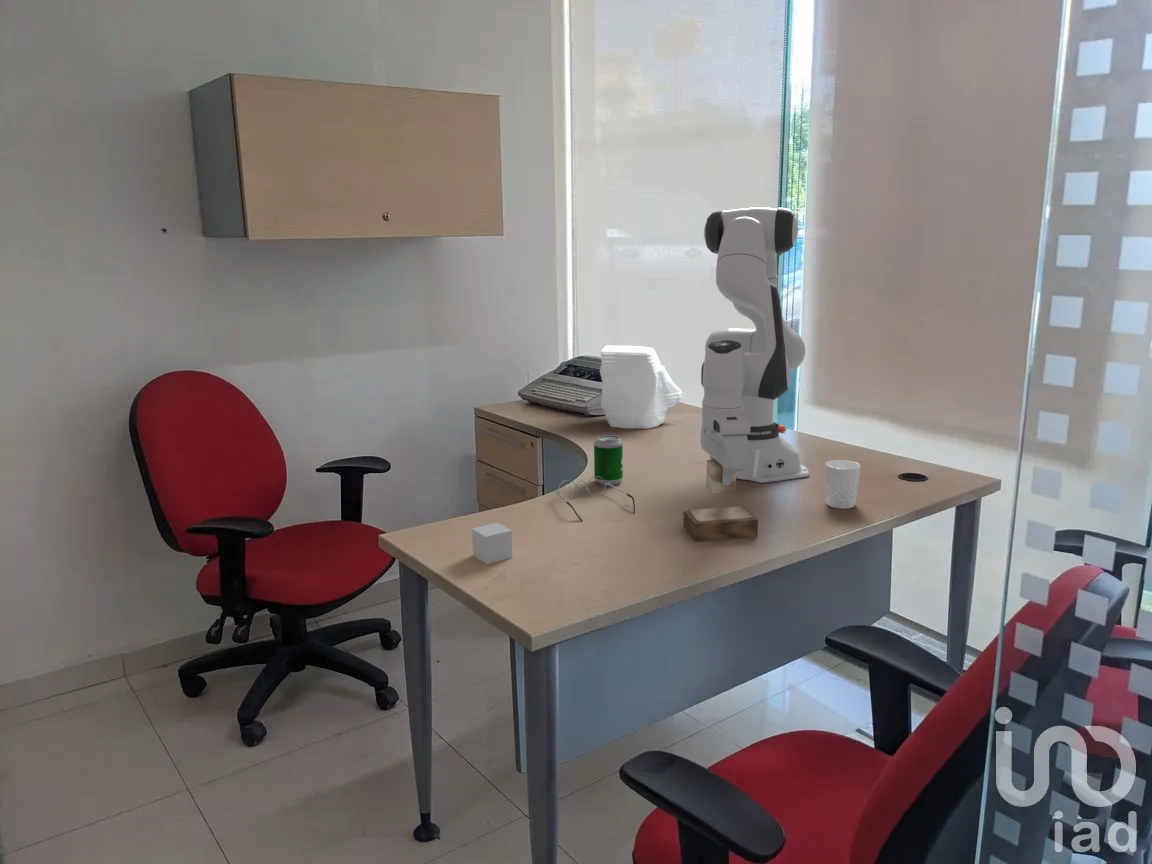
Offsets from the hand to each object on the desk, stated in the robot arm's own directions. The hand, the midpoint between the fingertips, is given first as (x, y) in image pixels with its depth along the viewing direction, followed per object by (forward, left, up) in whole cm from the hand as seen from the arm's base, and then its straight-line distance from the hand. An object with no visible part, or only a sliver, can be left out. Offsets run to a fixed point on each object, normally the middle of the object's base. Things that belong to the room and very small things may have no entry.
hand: (721, 479), depth 185 cm
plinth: (0, 0, -12) cm, 12 cm away
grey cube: (+50, +4, -12) cm, 52 cm away
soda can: (+17, -41, -12) cm, 46 cm away
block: (0, 0, -2) cm, 2 cm away
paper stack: (-4, -101, -12) cm, 102 cm away
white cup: (-34, -12, -12) cm, 38 cm away
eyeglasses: (+24, -23, -13) cm, 36 cm away
